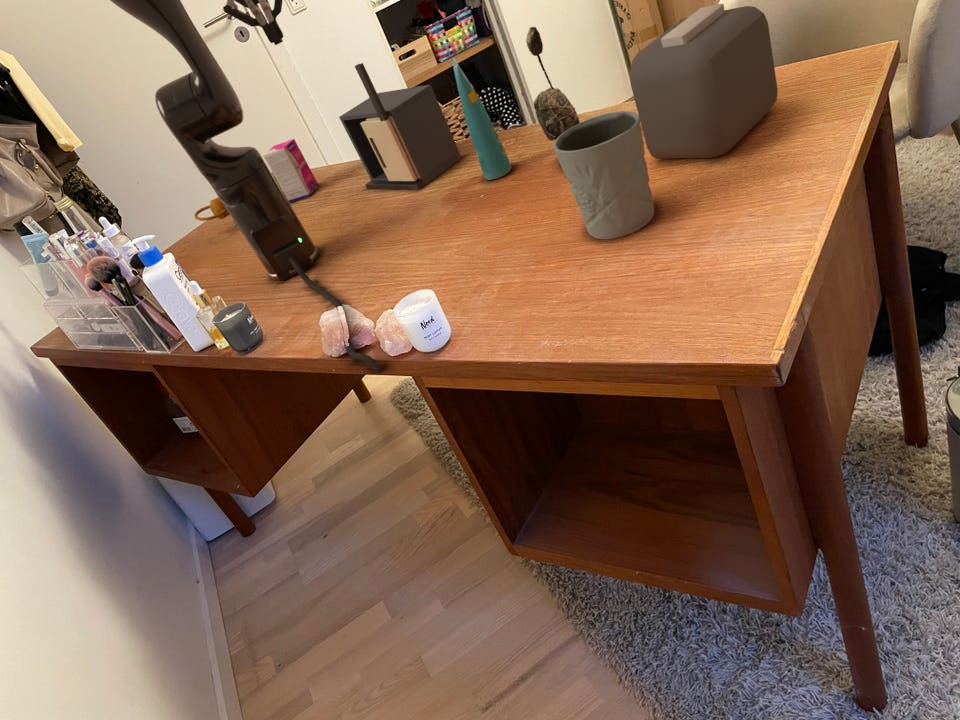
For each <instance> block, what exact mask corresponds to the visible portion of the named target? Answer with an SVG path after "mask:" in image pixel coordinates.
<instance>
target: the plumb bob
mask: <svg viewBox="0 0 960 720" xmlns="http://www.w3.org/2000/svg"><path fill="white" fill-rule="evenodd" d="M270 172H271V173H272V175H273V177H274V178H275V176H274V174H273V172H272V171H270ZM275 180H276V178H275ZM276 182H277V183H278V181H277V180H276ZM278 185H279V183H278ZM279 187H280V185H279ZM280 189H281V190H282V188H281V187H280ZM282 191H283V190H282ZM209 209H210V211H211V213H212V214H213V215H211V216H206V217H201V216H200V217H199V214H201V213H202V212H204V211H207V210H209ZM229 216H231V215H230V214H229V212H228V211H227V209H226V208H225V206H224V204H223V203H222V201H221V200H220V198H219V197H218V196H217V197H215V198H214V199H211V200H210V201H209V205H206V206H204V207H201V208H200V209H198V210H196V212H195V213H194V215H193V217H194V219H195V220H197V221H200V222H201V221H202V222H203V221H204V222H205V221H211V220H214V219H217V218H218V219H220V220H223V219H225V218H227V217H229Z"/></svg>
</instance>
